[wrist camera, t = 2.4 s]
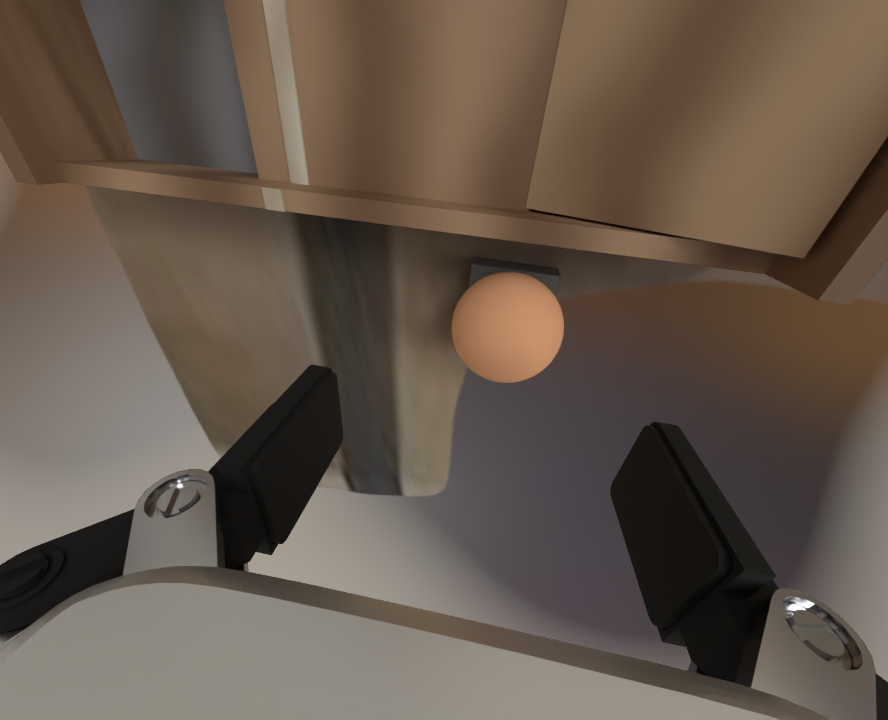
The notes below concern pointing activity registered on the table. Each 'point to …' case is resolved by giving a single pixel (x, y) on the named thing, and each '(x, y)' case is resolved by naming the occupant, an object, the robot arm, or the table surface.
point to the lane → (482, 119)
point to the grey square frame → (489, 267)
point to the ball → (507, 327)
